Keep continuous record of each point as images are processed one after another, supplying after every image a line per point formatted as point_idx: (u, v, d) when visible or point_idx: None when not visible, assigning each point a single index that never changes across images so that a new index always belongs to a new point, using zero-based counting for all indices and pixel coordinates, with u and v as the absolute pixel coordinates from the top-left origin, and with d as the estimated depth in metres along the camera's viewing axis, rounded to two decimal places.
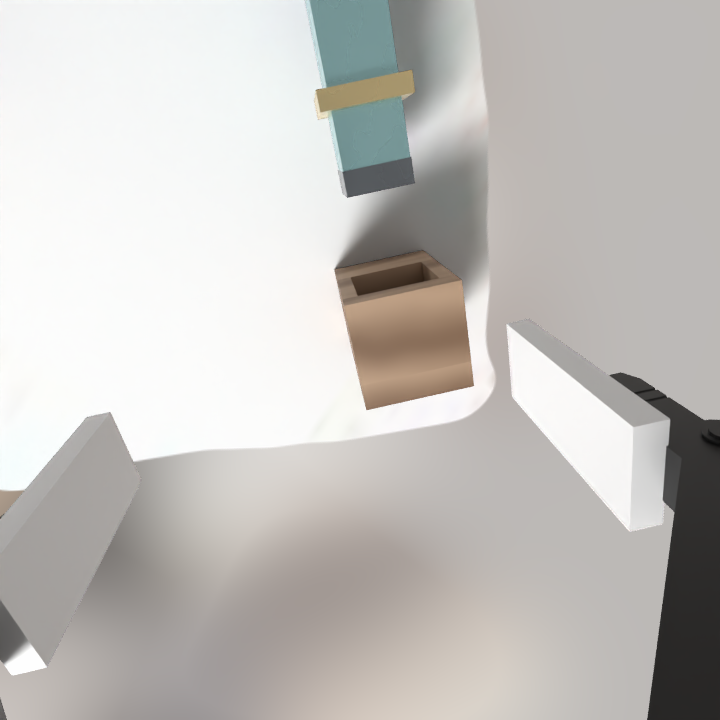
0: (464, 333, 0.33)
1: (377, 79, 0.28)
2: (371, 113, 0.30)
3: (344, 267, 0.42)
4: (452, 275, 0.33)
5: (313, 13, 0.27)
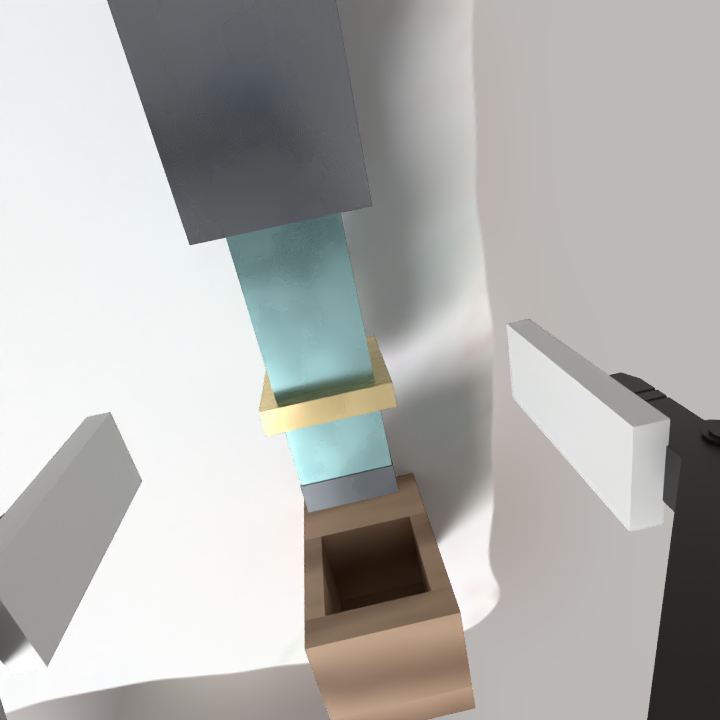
0: (463, 661, 0.26)
1: (344, 395, 0.21)
2: (338, 423, 0.22)
3: None
4: (448, 588, 0.26)
5: (252, 319, 0.19)
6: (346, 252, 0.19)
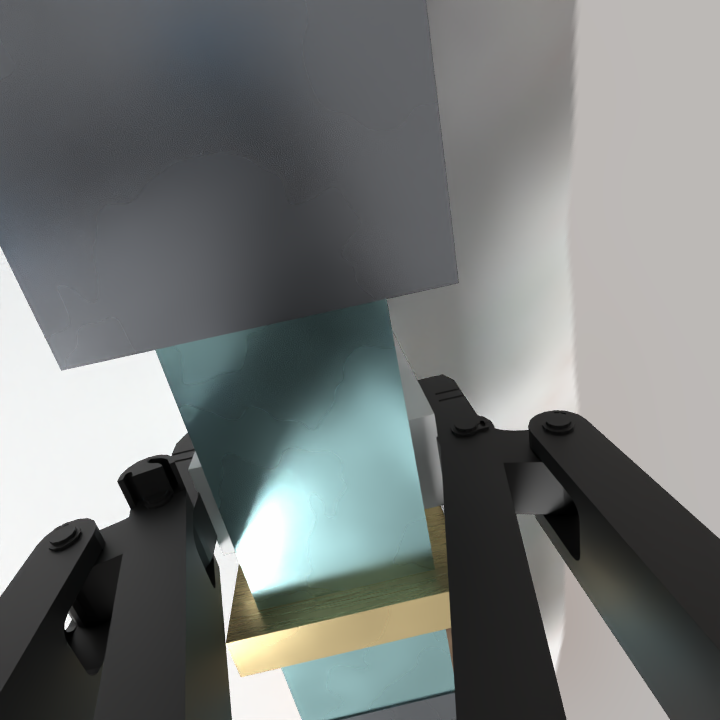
0: None
1: (383, 610, 0.11)
2: None
3: None
4: None
5: (212, 485, 0.10)
6: (394, 362, 0.10)
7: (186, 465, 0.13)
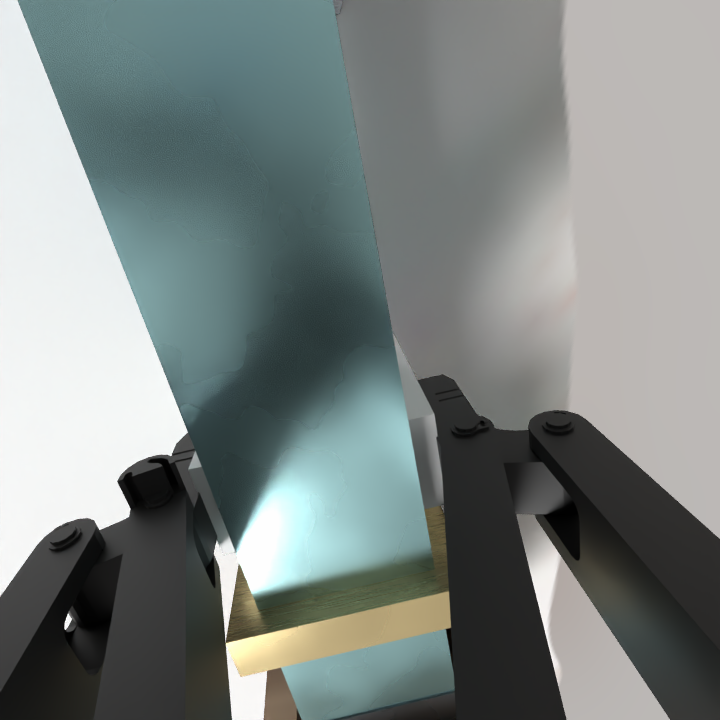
0: None
1: (383, 610, 0.11)
2: None
3: None
4: None
5: (212, 484, 0.10)
6: (393, 362, 0.10)
7: (186, 465, 0.13)
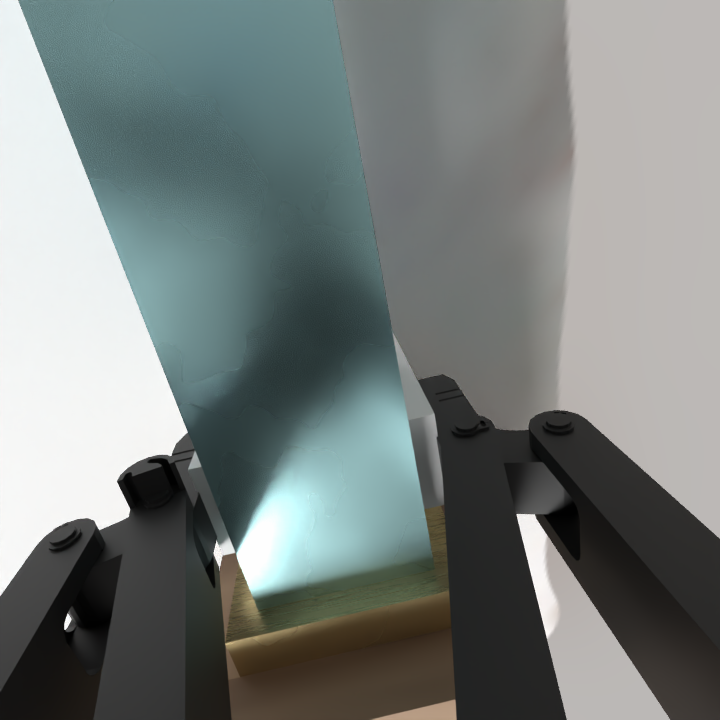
0: None
1: (383, 610, 0.11)
2: None
3: None
4: None
5: (211, 483, 0.10)
6: (393, 361, 0.10)
7: (186, 465, 0.13)
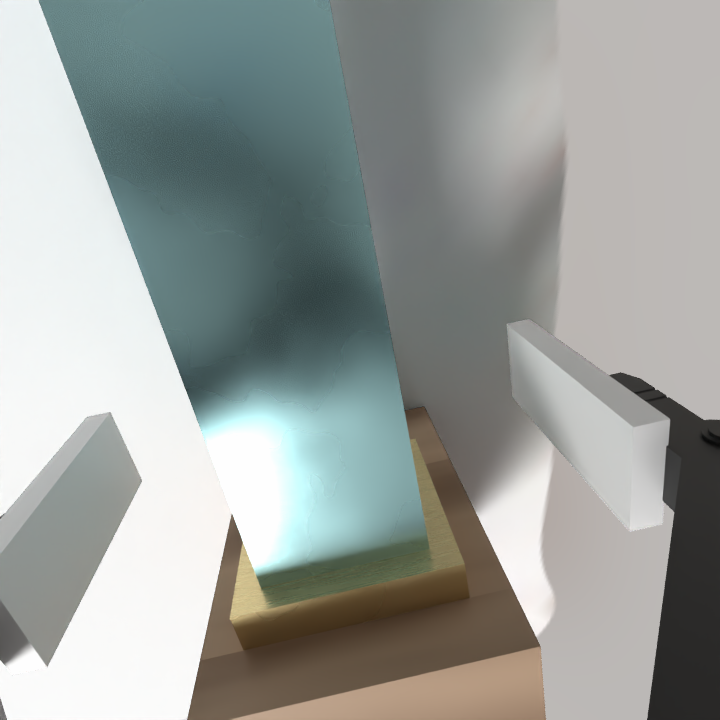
0: None
1: (380, 587, 0.12)
2: None
3: None
4: (505, 591, 0.12)
5: (217, 464, 0.11)
6: (389, 347, 0.10)
7: None
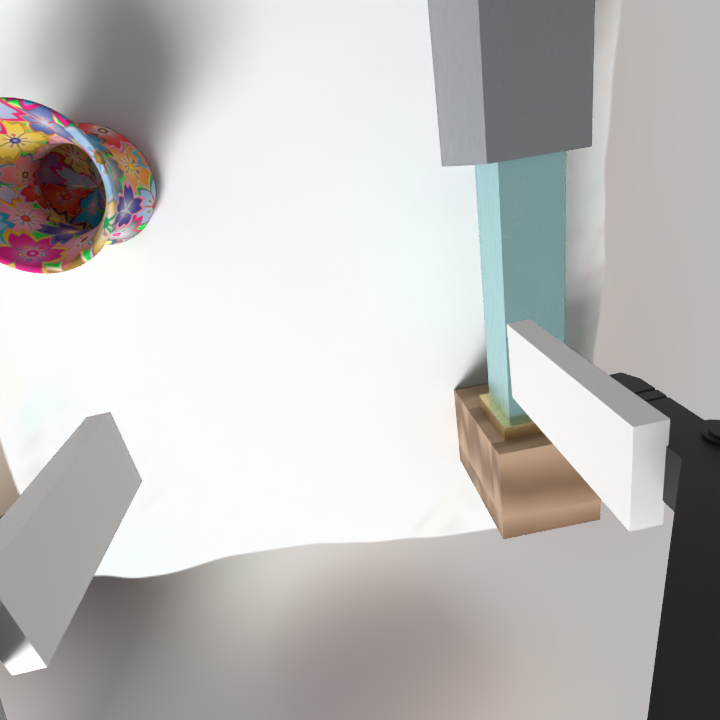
0: None
1: None
2: None
3: (463, 388, 0.46)
4: None
5: (508, 377, 0.36)
6: None
7: None
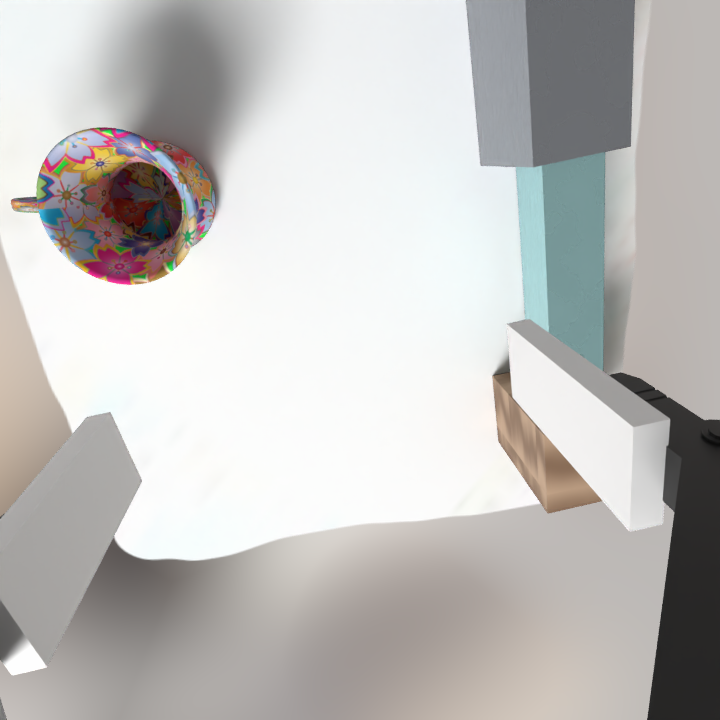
0: None
1: None
2: None
3: (501, 374, 0.49)
4: None
5: None
6: (602, 330, 0.38)
7: None
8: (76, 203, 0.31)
